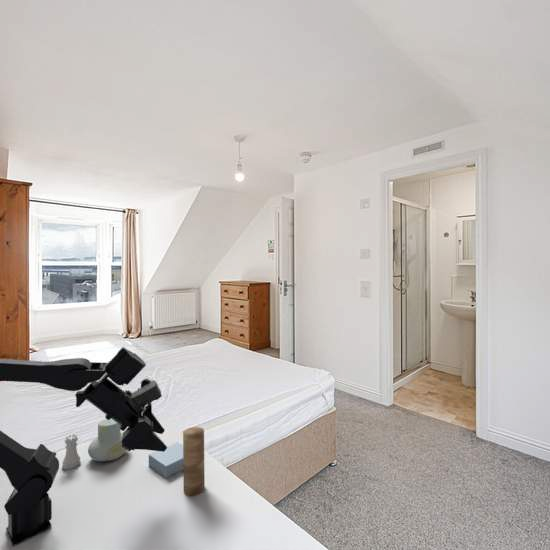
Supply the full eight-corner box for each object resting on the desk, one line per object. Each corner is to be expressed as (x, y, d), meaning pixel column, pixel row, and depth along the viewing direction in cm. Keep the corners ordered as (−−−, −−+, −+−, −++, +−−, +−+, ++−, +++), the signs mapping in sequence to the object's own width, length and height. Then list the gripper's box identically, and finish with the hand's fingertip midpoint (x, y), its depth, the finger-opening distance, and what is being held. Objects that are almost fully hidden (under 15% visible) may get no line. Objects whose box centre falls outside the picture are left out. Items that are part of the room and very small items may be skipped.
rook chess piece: (84, 461, 94) (84, 433, 94) (73, 470, 90) (73, 440, 90) (69, 460, 95) (69, 432, 95) (58, 469, 90) (57, 440, 90)
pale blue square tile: (166, 477, 86) (165, 466, 86) (148, 465, 92) (148, 454, 92) (195, 463, 93) (195, 452, 93) (177, 452, 99) (177, 442, 99)
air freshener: (100, 469, 90) (99, 432, 90) (82, 461, 94) (82, 426, 95) (134, 451, 100) (134, 417, 100) (117, 444, 104) (117, 412, 104)
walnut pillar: (191, 498, 78) (190, 438, 78) (179, 489, 81) (178, 432, 81) (208, 488, 81) (208, 430, 82) (196, 480, 85) (196, 425, 85)
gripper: (139, 383, 68) (194, 428, 72) (139, 363, 86) (184, 399, 90) (96, 429, 65) (156, 472, 69) (106, 398, 83) (153, 434, 87)
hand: (164, 440), depth 79 cm, fingers open, 9 cm apart
